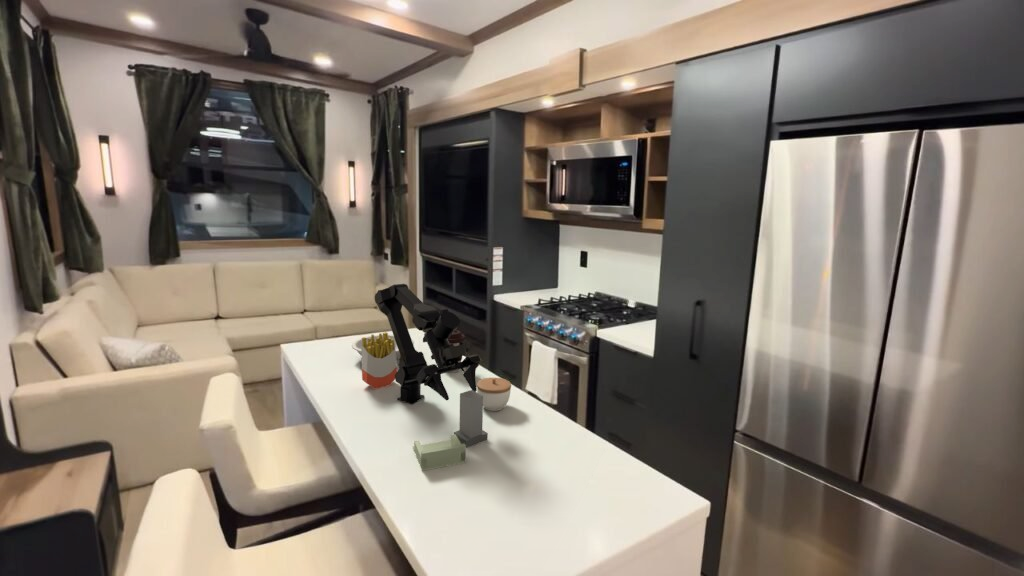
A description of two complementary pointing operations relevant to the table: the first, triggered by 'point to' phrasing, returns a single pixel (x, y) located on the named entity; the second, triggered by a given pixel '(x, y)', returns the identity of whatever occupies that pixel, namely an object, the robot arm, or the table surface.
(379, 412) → the table surface
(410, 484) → the table surface
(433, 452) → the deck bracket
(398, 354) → the soup bowl
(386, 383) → the french fries container
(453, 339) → the coffee cup
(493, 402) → the lidded jar
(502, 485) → the table surface
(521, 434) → the table surface
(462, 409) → the grey pillar on base
